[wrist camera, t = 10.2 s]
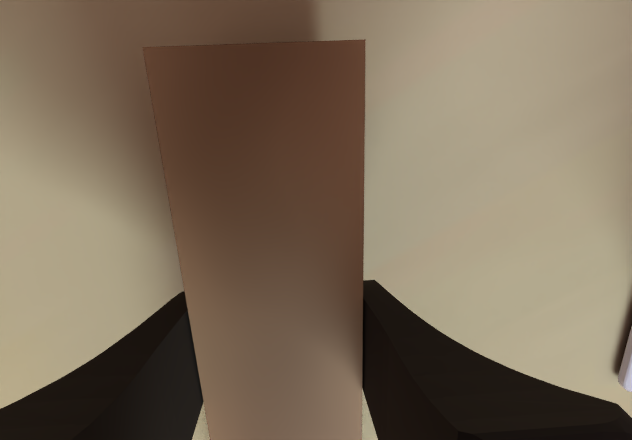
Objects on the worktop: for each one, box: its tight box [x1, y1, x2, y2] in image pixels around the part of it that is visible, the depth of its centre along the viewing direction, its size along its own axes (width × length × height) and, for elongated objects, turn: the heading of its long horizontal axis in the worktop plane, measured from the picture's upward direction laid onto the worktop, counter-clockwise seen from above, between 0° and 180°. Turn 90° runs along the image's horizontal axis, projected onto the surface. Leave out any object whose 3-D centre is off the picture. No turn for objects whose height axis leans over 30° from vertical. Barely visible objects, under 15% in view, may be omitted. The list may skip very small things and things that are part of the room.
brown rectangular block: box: [143, 40, 365, 440], centre depth 12 cm, size 5×18×4 cm, turn 2°
